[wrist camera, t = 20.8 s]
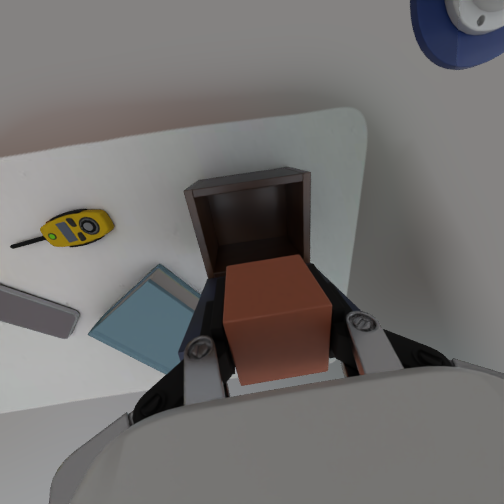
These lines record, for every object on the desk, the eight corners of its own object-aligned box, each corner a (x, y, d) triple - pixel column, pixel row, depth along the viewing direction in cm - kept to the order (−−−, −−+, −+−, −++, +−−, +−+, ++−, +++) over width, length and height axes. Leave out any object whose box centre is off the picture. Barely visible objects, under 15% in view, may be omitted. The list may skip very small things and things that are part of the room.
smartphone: (67, 340, 37) (-36, 310, 32) (71, 336, 37) (-30, 306, 33) (78, 315, 34) (-33, 278, 29) (81, 311, 35) (-26, 275, 30)
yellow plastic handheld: (113, 238, 27) (16, 265, 28) (120, 233, 29) (28, 258, 30) (92, 205, 25) (-13, 235, 26) (101, 202, 27) (2, 230, 28)
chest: (198, 180, 27) (183, 190, 19) (288, 166, 27) (310, 172, 19) (215, 248, 32) (208, 279, 24) (291, 236, 32) (310, 264, 24)
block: (226, 265, 11) (222, 323, 8) (299, 253, 12) (333, 304, 8) (238, 319, 13) (240, 387, 10) (301, 308, 14) (328, 371, 10)
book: (249, 332, 41) (250, 353, 36) (196, 367, 45) (191, 391, 40) (159, 263, 32) (147, 281, 27) (103, 314, 36) (84, 337, 31)
